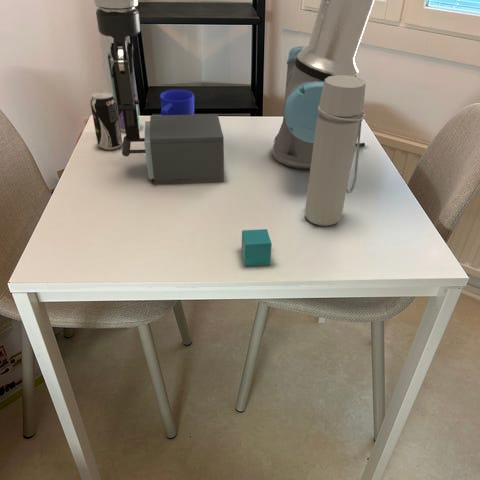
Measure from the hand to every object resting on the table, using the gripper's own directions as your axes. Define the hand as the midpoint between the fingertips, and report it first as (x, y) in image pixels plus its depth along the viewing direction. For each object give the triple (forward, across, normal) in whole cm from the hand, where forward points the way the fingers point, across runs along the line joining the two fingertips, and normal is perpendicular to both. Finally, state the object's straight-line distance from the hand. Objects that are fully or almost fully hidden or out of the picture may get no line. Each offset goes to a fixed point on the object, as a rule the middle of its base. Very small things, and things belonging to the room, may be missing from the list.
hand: (133, 138), depth 101 cm
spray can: (+8, -25, -3) cm, 26 cm away
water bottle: (+7, +23, +37) cm, 44 cm away
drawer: (+6, 0, +7) cm, 9 cm away
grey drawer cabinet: (+7, 0, +11) cm, 13 cm away
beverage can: (+8, -14, -7) cm, 17 cm away
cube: (+7, +35, +21) cm, 42 cm away
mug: (+8, -17, +9) cm, 21 cm away
